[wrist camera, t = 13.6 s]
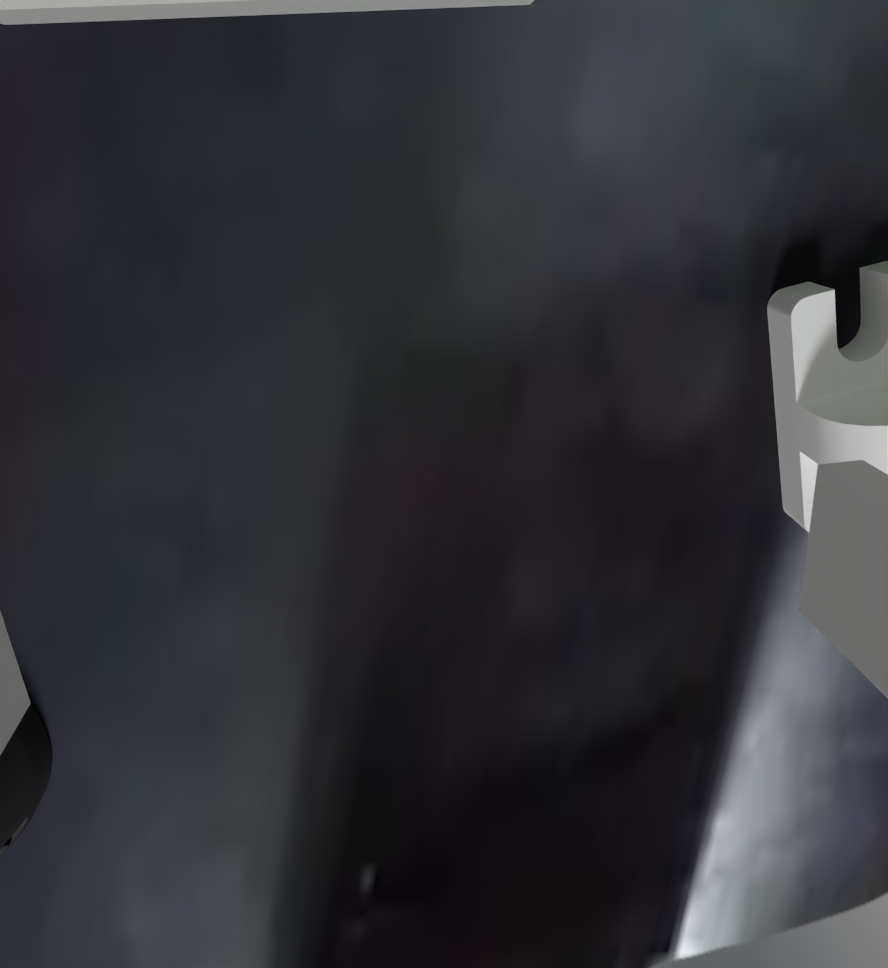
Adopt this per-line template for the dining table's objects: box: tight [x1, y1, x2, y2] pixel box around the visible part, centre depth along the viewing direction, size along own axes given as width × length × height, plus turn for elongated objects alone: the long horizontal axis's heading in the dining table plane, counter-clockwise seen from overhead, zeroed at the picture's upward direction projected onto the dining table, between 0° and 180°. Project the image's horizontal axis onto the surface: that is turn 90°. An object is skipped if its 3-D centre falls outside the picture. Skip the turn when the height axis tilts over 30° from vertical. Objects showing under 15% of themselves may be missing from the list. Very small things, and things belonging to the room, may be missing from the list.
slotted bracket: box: [767, 261, 888, 532], centre depth 38 cm, size 13×7×8 cm, turn 14°
